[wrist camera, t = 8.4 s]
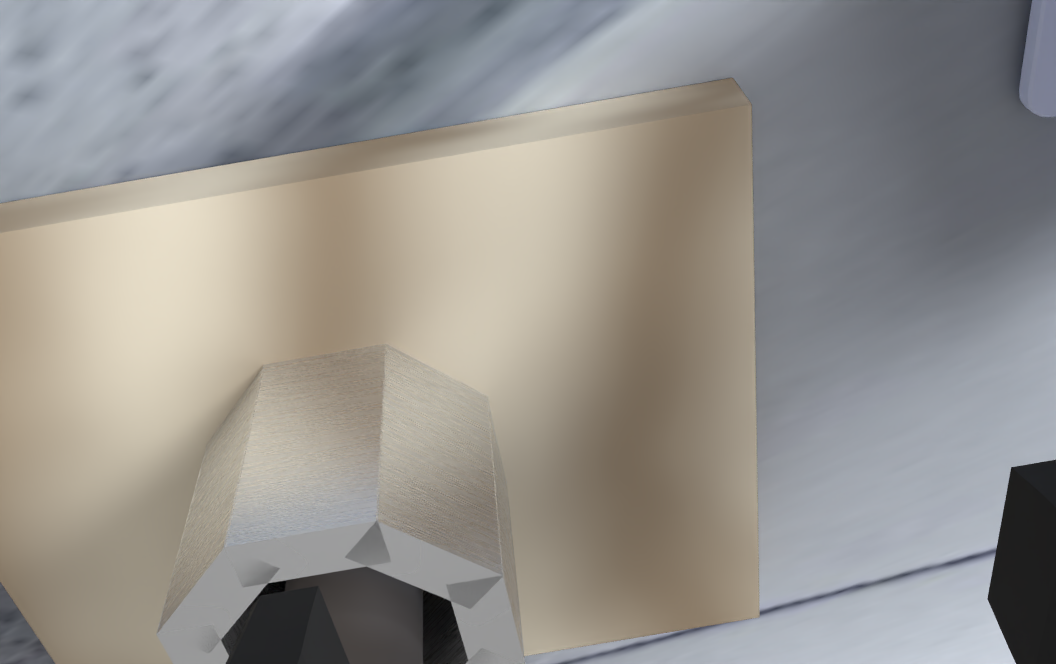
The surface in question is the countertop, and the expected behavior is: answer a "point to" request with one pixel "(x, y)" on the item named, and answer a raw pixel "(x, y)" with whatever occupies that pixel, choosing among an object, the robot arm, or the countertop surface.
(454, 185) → the post board
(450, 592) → the steel ring
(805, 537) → the countertop surface
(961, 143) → the countertop surface
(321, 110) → the countertop surface
